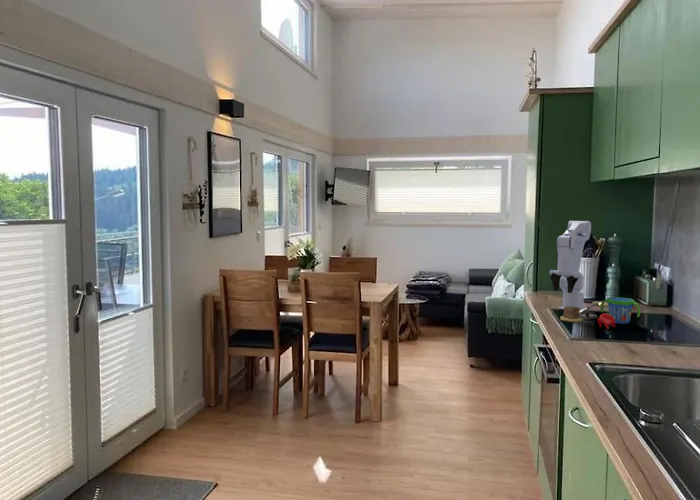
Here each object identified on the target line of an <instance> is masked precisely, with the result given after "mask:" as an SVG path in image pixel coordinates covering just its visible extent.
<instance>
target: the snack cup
mask: <svg viewBox="0 0 700 500" xmlns="http://www.w3.org/2000/svg"><path fill="white" fill-rule="evenodd" d="M601 302H602V304H601V307H600V312H601V313H602V314H604V307H603V304H604V303H605V302H607V303H608V307H607V308H608V314H609V315H611V316H612V317H613V318H614V319H615V324H619V325H625V324H626V325H627V324H629V323H630V321H631V316H632V311H633V307H634V305H635V306H636V308H637V313H636V317H637V318H639V317H640V316H641V307H640V305H639V303H638V302H636V301H635V300H634V299H632V298H628V297H617V296H616V297H615V296H614V297H612V296H611V297H608V298H607V297H606V299H604V300H602V301H601Z"/></svg>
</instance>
